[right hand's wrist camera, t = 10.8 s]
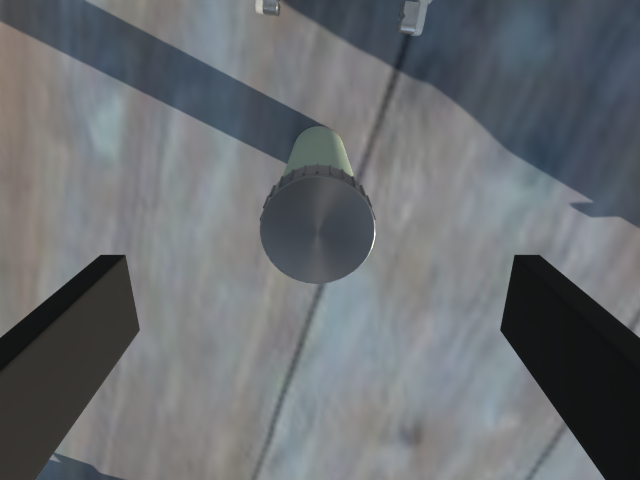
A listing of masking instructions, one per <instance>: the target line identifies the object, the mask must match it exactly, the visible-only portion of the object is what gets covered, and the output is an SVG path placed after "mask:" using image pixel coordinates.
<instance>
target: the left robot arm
mask: <svg viewBox="0 0 640 480" xmlns="http://www.w3.org/2000/svg"><path fill="white" fill-rule="evenodd" d="M279 1H280V0H255V12H256V13H258V14H264V15H272V16H279V15H280V5H279V3H278V2H279ZM431 2H432V0H416V2H414V1H405V2H404V3H402V4H401V6H400V12H399V17H400V21H399V22H398V23H397V30H396V33H399V34H405V35H411V36H419V35H421V33H422V30H423V27H424V22H425V17H426V12H427V7H428V5H429V4H430V3H431Z"/></svg>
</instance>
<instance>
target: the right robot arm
mask: <svg viewBox="0 0 640 480" xmlns="http://www.w3.org/2000/svg"><path fill="white" fill-rule="evenodd" d="M139 330H140V329H139V323H138V318H137V313H136V308H135V303H134V297H133V292H132V287H131V282H130V277H129V271H128V266H127V261H126V256H125V255H100V256H99V257H98V258H96V259H95V260H94V261H93V262H92V263H90V264H89V265H88V266H87V267H86V268H84V269H83V270H82V271H81V272H79V273H78V274H77V275H76V276H75V277H73V278H72V279H71V280H70V281H69V282H67V283H66V284H65V285H64V286H63V287H61V288H60V289H59V290H58V291H57V292H55V293H54V294H53V295H52V296H50V297H49V298H48V299H47V300H46V301H44V302H43V303H42V304H41V305H40V306H38V307H37V308H36V309H35V310H34V311H32V312H31V313H30V314H29V315H27V316H26V317H25V318H24V319H23V320H21V321H20V322H19V323H18V324H17V325H15V326H14V327H13V328H12V329H11V330H9V331H8V332H7V333H6V334H5V335H3V336H2V337H1V338H0V480H35V479H36V477H37V476H38V474H39V473H40V471H41V470H42V469H43V467H44V466H45V464H46V463H47V461H48V460H49V459H50V457H51V456H52V454H53V453H54V451H55V450H56V449H57V447H58V446H59V444H60V443H61V442H62V440H63V439H64V437H65V436H66V434H67V433H68V432H69V430H70V429H71V427H72V426H73V424H74V423H75V422H76V420H77V419H78V417H79V416H80V414H81V413H82V412H83V410H84V409H85V407H86V406H87V404H88V403H89V402H90V400H91V399H92V397H93V396H94V395H95V393H96V392H97V390H98V389H99V387H100V386H101V385H102V383H103V382H104V380H105V379H106V377H107V376H108V375H109V373H110V372H111V370H112V369H113V367H114V366H115V365H116V363H117V362H118V360H119V359H120V358H121V356H122V355H123V353H124V352H125V350H126V349H127V348H128V346H129V345H130V343H131V342H132V340H133V339H134V338H135V336H136V335H137V333H138V332H139ZM500 330H501V332H502V333H503V335H504V336H505V338H506V339H507V340H508V342H509V343H510V345H511V346H512V348H513V349H514V350H515V352H516V353H517V355H518V356H519V358H520V359H521V360H522V362H523V363H524V365H525V366H526V367H527V369H528V370H529V372H530V373H531V375H532V376H533V377H534V379H535V380H536V382H537V383H538V385H539V386H540V387H541V389H542V390H543V392H544V393H545V395H546V396H547V397H548V399H549V400H550V402H551V403H552V404H553V406H554V407H555V409H556V410H557V412H558V413H559V414H560V416H561V417H562V419H563V420H564V422H565V423H566V424H567V426H568V427H569V429H570V430H571V432H572V433H573V434H574V436H575V437H576V439H577V440H578V442H579V443H580V444H581V446H582V447H583V449H584V450H585V451H586V453H587V454H588V456H589V457H590V459H591V460H592V461H593V463H594V464H595V466H596V467H597V469H598V470H599V471H600V473H601V474H602V476H603V477H604V479H605V480H640V338H639V337H638V336H637V335H635V334H634V333H633V332H632V331H631V330H629V329H628V328H627V327H626V326H625V325H623V324H622V323H621V322H620V321H619V320H617V319H616V318H615V317H614V316H613V315H611V314H610V313H609V312H608V311H606V310H605V309H604V308H603V307H602V306H600V305H599V304H598V303H597V302H596V301H594V300H593V299H592V298H591V297H590V296H588V295H587V294H586V293H585V292H583V291H582V290H581V289H580V288H579V287H577V286H576V285H575V284H574V283H573V282H571V281H570V280H569V279H568V278H567V277H565V276H564V275H563V274H562V273H561V272H559V271H558V270H557V269H556V268H554V267H553V266H552V265H551V264H550V263H548V262H547V261H546V260H545V259H544V258H542V257H541V256H540V255H515V256H514V261H513V266H512V271H511V277H510V282H509V287H508V292H507V297H506V303H505V308H504V313H503V318H502V323H501V329H500Z"/></svg>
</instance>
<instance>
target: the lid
mask: <svg viewBox="0 0 640 480" xmlns="http://www.w3.org/2000/svg"><path fill="white" fill-rule="evenodd" d="M263 208H264V210H263V213H262V215H261V217H260V221H261V223H260V236H261V242H262V245H263V248H264V250H265V252H266V254H267V256H268V258H269V259H270V261H271V262H272V263H273V264H274V265H275V266H276V267H277V268H278V269H279V270H280V271H281V272H283V273H284V274H286V275H287V276H289V277H291V278H293V279H296V280H298V281H302V282H306V283H314V284H321V283H329V282H334V281H337V280H340V279H342V278H344V277H346V276H348V275H350V274H351V273H353V272H354V271H355V270H356V269H358V268H359V267H360V266H361V265H362V264H363V262H364V261H365V260H366V258H367V257H368V255H369V253H370V251H371V249H372V246H373V243H374V239H375V232H376V230H375V221H374V220H376V219H375V216H374V213H373V211H372V205H371V202H370V200H369V197H368V195H367V196H366V194H365V191H364V189H363V186H362V185H359V183H358V182H357V181H356V180H355V178H354V176H352V177H351V176H350V175H349V174H347V173H346V172H344V170H343V169H341V170H340V169H337V168H335V167H332V165H329V166H326V165H319V163H316V165H309V166H306V165H304V166H303V167H301V168H298V169H296V170H294V169H292V170H291V172H290V173H288V174H287V175H286V176H284V177H283V176H282V177H281V179H280V181H279V182H278V183H277V184H276V186H275V185H274V186H273V187H272V190H271V192H270V195H269V196H268V197H267V199H266V201H265V204H264V206H263Z"/></svg>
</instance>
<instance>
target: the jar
mask: <svg viewBox="0 0 640 480" xmlns="http://www.w3.org/2000/svg"><path fill="white" fill-rule="evenodd" d="M316 163H319V165H326V166H329V165H332V167H335V168H337V169H340V170H341V169H343V170H344V172H346V173H347V174H349V175H350V176H351V177H352V176H353V173H352V170H351V167H350V164H349V161H348V158H347V155H346V152H345V149H344V146H343V143H342V140H341V138H340V137H339V136H338V134H337V133H336V132H334V131H333V130H331V129H329V128H327V127H323V126H314V127H310V128H308V129H306V130H304V131H303V132H302V133H301V134H300V135H299V136H298V138H297V139H296V141H295V144H294V147H293V149H292V152H291V155H290V158H289V161H288V163H287V166H286V169H285V172H284V174H283V177H284V176H286V175H287V174H288V173H290V172H291V170H292V169H294V170H296V169H298V168H301V167H303V166H304V165H306V166H309V165H316Z"/></svg>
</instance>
